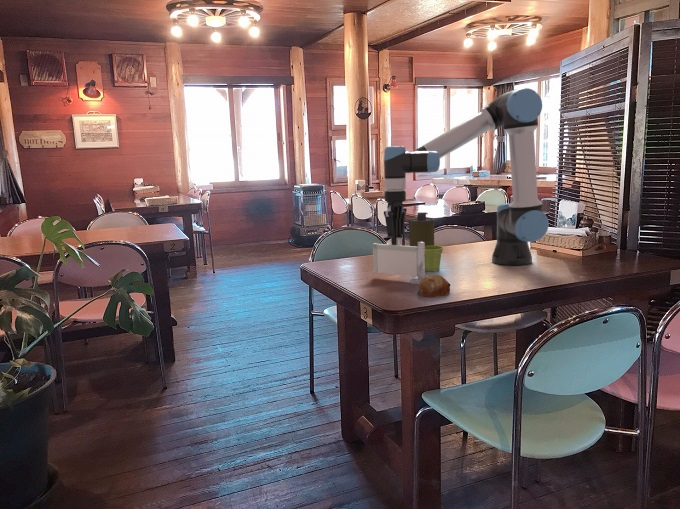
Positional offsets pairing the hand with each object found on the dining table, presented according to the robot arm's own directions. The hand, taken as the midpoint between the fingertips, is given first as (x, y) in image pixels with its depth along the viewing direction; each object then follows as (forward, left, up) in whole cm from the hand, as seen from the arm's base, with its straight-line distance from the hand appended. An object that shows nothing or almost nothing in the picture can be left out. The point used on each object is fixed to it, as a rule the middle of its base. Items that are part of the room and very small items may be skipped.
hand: (395, 255), depth 203 cm
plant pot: (-7, -14, -8) cm, 18 cm away
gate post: (-13, +6, -8) cm, 16 cm away
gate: (-3, +6, -6) cm, 9 cm away
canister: (+4, -28, -8) cm, 29 cm away
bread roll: (-23, +18, -8) cm, 30 cm away
